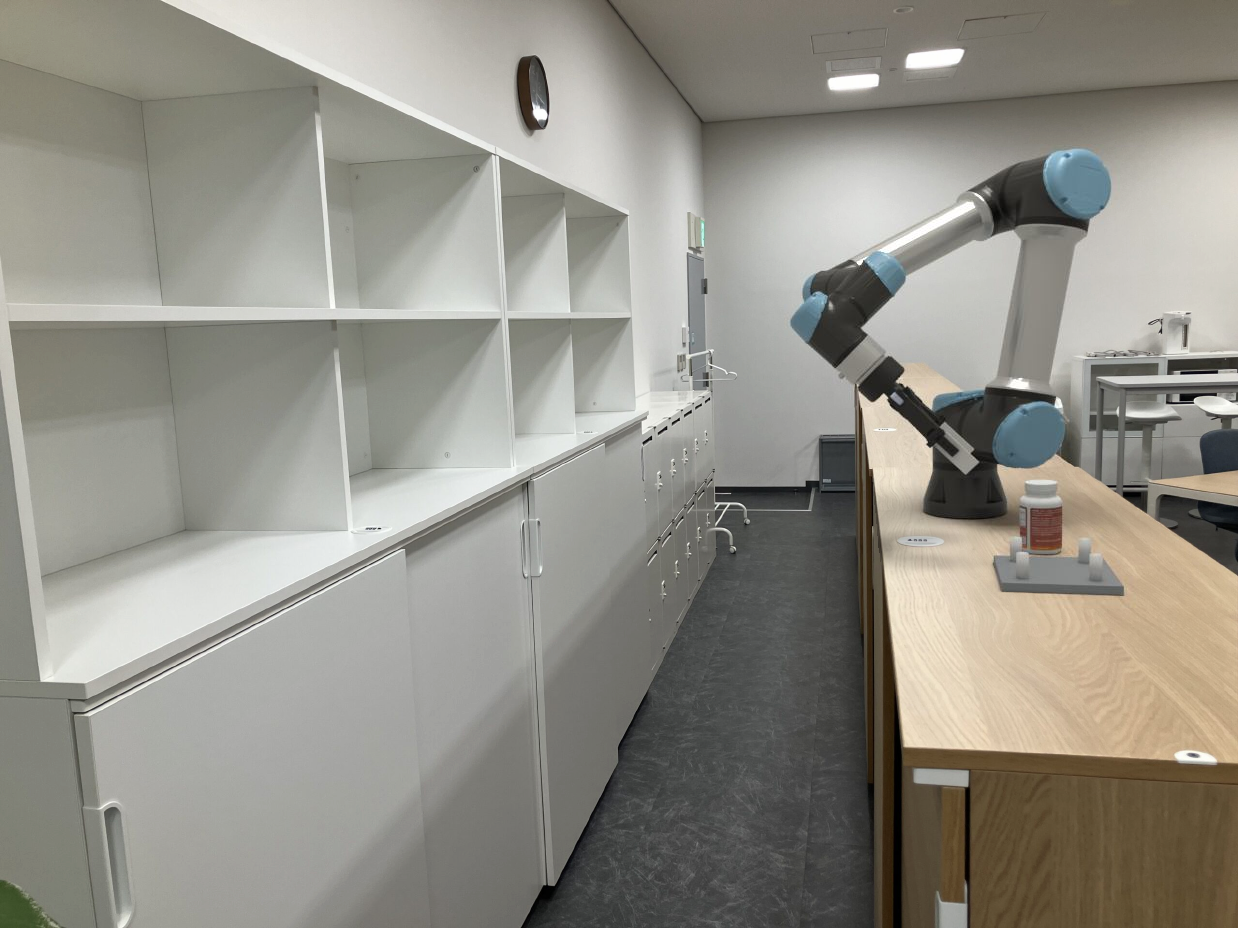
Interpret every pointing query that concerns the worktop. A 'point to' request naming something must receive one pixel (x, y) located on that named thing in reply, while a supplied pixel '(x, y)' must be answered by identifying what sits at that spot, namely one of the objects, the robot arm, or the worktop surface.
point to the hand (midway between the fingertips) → (970, 461)
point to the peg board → (1056, 572)
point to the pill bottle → (1041, 518)
